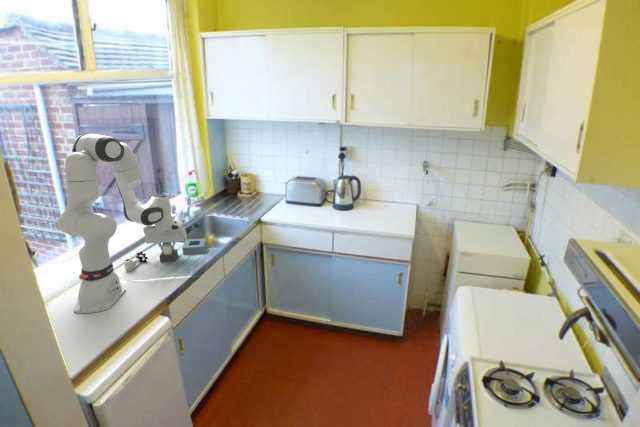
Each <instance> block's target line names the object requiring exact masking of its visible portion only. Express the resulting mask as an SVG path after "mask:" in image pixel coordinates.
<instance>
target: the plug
mask: <svg viewBox="0 0 640 427" xmlns="http://www.w3.org/2000/svg"><path fill="white" fill-rule="evenodd" d="M161 245H162V246H163V251H164V255H173V250H171V245H173V244H172V242H165V243H161Z"/></svg>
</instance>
